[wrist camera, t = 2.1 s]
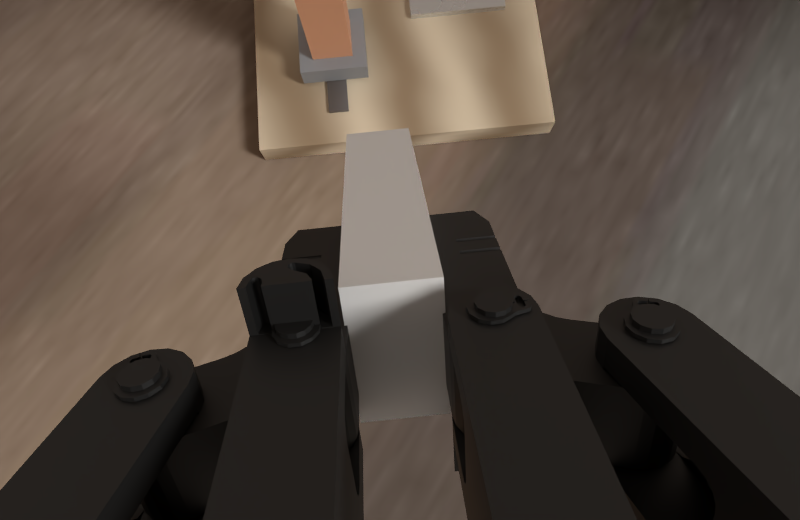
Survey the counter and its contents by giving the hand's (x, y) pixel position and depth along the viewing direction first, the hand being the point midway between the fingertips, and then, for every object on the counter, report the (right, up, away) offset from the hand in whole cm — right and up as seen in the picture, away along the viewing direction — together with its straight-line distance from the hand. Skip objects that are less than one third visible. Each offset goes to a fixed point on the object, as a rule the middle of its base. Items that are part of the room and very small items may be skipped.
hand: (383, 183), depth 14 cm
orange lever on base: (-4, +11, +21) cm, 24 cm away
